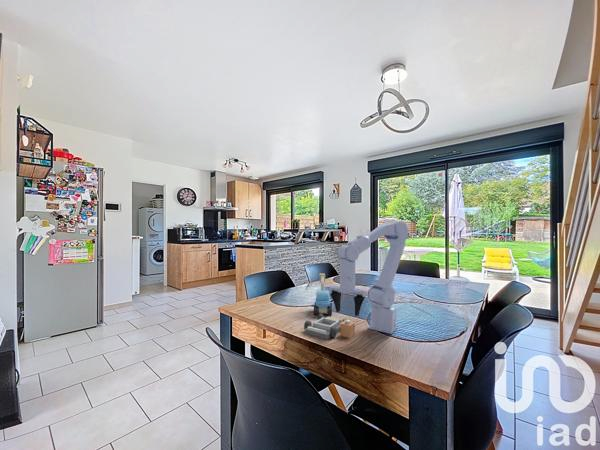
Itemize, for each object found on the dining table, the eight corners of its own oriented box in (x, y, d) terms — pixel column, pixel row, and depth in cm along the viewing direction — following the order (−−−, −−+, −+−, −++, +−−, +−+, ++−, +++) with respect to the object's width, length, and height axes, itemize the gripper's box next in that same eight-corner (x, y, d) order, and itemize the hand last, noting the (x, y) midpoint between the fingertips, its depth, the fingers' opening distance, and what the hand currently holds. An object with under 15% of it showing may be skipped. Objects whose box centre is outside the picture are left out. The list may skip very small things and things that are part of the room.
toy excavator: (331, 306, 134) (331, 273, 134) (332, 316, 118) (332, 279, 118) (314, 305, 135) (315, 272, 135) (313, 316, 118) (313, 278, 119)
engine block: (354, 334, 98) (354, 320, 98) (350, 338, 94) (350, 323, 95) (344, 332, 100) (344, 318, 100) (340, 335, 97) (340, 321, 97)
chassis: (349, 326, 105) (349, 317, 106) (330, 340, 92) (330, 330, 92) (322, 320, 113) (322, 312, 113) (302, 332, 99) (302, 322, 99)
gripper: (325, 276, 99) (325, 312, 98) (361, 280, 90) (361, 320, 90) (334, 273, 104) (333, 307, 104) (369, 277, 96) (369, 314, 96)
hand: (347, 313), depth 97 cm, fingers open, 7 cm apart
